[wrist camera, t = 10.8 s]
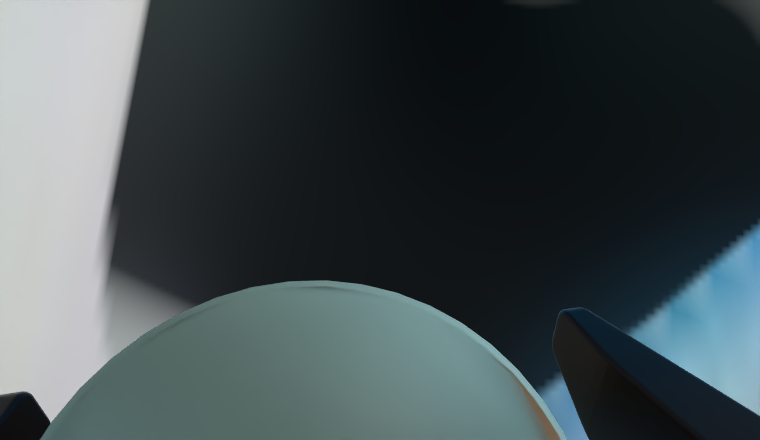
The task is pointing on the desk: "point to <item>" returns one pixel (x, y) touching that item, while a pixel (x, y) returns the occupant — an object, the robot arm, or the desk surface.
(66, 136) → the desk surface
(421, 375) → the end plug
